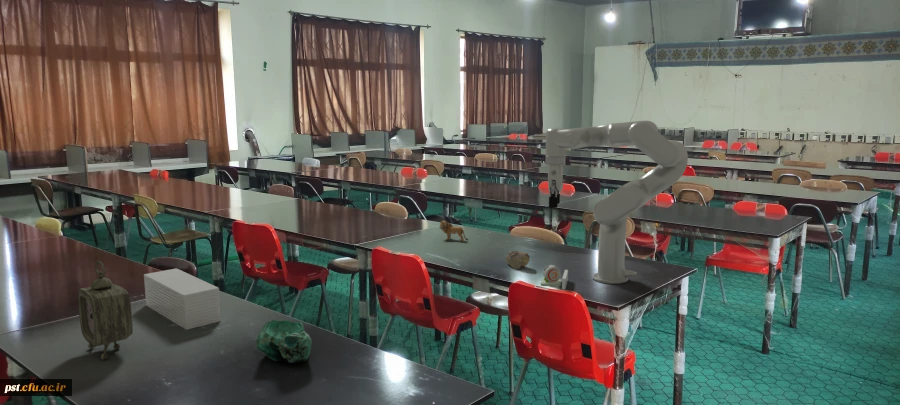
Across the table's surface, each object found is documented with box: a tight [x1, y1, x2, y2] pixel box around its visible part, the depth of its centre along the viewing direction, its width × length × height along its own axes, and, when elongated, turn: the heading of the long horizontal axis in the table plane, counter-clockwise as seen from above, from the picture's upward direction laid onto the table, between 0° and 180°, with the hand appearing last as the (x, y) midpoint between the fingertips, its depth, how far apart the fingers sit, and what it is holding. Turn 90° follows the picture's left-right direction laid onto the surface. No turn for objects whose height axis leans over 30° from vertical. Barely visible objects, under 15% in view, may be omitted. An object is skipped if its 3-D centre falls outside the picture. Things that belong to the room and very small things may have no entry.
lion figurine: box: [439, 220, 469, 242], centre depth 309 cm, size 15×5×9 cm, turn 68°
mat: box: [540, 277, 562, 287], centre depth 237 cm, size 7×7×1 cm
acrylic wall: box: [561, 269, 569, 291], centre depth 234 cm, size 1×12×4 cm, turn 166°
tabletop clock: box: [77, 260, 134, 360], centre depth 171 cm, size 14×9×25 cm, turn 45°
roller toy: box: [542, 264, 562, 282], centre depth 236 cm, size 4×6×6 cm
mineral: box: [255, 319, 313, 364], centre depth 167 cm, size 18×16×10 cm
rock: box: [505, 250, 531, 270], centre depth 258 cm, size 7×11×10 cm
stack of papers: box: [143, 267, 222, 330], centre depth 204 cm, size 32×11×11 cm, turn 44°
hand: (554, 205), depth 248 cm, fingers open, 9 cm apart
